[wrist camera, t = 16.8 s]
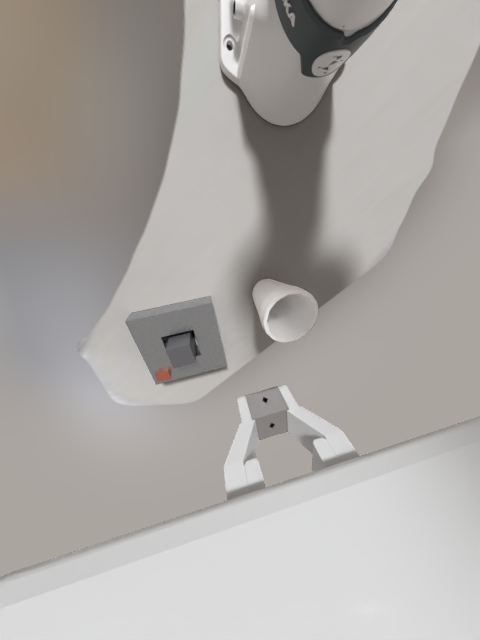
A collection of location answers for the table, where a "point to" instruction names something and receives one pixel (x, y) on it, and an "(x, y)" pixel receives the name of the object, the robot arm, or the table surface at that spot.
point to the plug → (181, 349)
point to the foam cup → (284, 310)
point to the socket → (171, 320)
